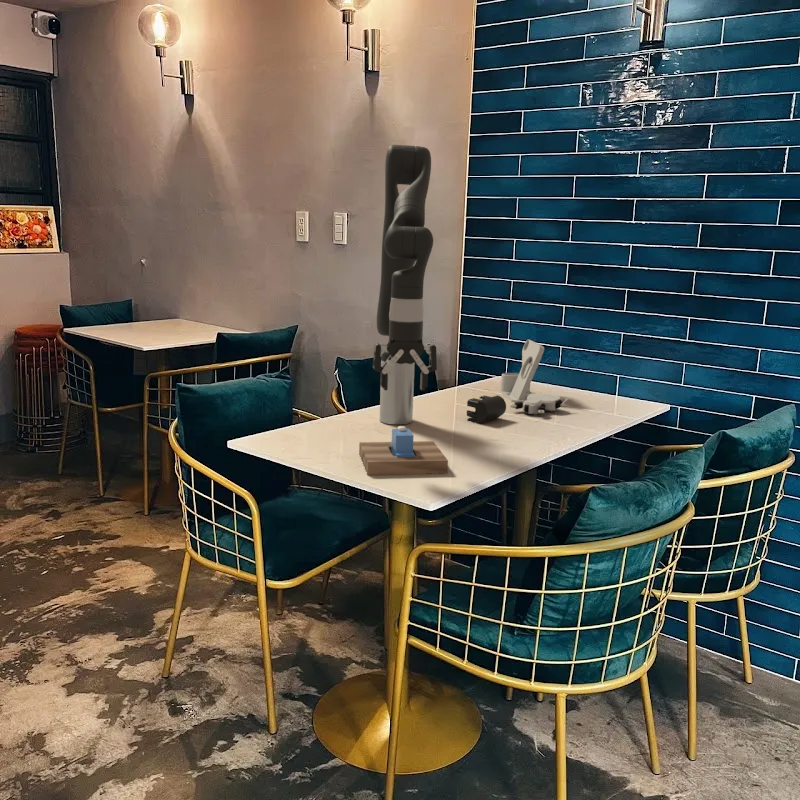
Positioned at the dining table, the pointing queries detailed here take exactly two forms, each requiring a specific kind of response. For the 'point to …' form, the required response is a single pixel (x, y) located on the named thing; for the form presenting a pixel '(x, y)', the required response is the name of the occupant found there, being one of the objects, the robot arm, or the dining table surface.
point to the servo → (402, 442)
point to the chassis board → (402, 459)
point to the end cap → (486, 408)
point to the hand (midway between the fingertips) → (403, 389)
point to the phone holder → (522, 373)
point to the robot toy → (539, 403)
